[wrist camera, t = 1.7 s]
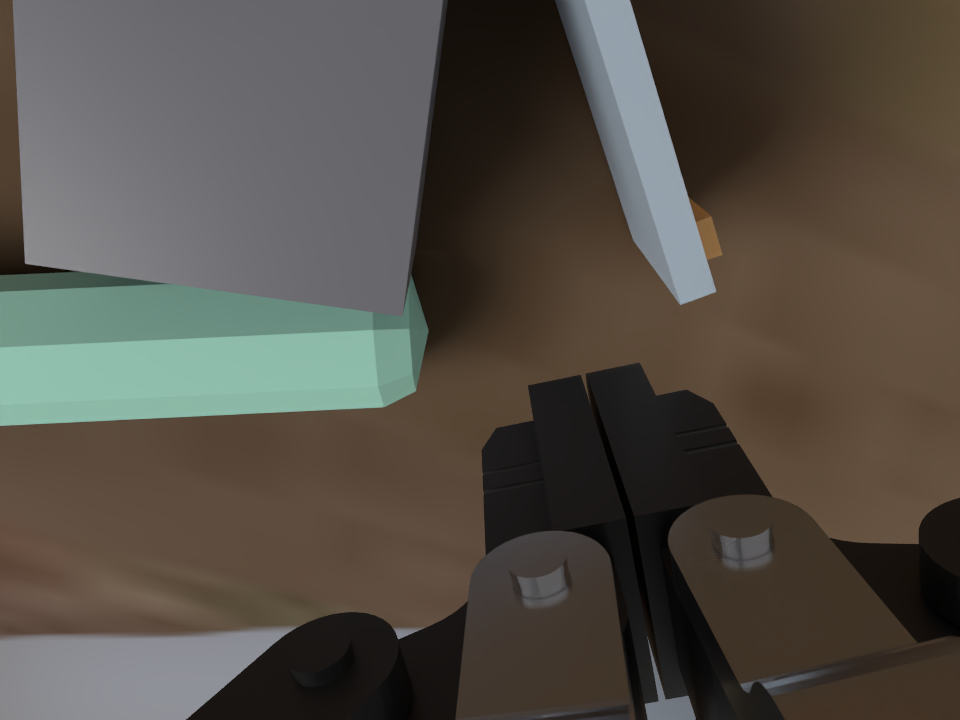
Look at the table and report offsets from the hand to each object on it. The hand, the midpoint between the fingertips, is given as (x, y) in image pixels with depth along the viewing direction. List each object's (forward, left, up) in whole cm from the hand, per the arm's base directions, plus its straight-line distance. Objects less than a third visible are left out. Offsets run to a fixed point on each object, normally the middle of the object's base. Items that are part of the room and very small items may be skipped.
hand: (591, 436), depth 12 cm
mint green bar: (+7, -15, -19) cm, 25 cm away
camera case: (-4, -8, -19) cm, 21 cm away
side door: (-5, +2, -19) cm, 19 cm away
